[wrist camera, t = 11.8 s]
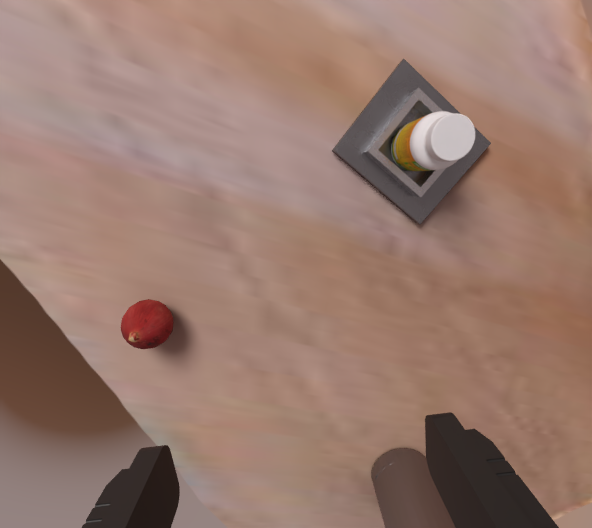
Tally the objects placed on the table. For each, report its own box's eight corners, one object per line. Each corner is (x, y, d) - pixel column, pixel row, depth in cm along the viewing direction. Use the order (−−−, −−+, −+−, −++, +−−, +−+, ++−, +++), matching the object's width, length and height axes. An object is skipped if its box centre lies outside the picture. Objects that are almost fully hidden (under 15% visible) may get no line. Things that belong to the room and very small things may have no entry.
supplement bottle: (388, 171, 39) (420, 169, 30) (391, 122, 38) (425, 104, 28) (433, 171, 39) (479, 169, 30) (438, 122, 38) (487, 104, 29)
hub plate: (485, 144, 40) (502, 141, 37) (416, 222, 42) (427, 226, 39) (400, 62, 37) (411, 51, 34) (331, 150, 40) (335, 148, 36)
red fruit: (190, 318, 45) (169, 347, 37) (155, 339, 45) (128, 373, 37) (162, 283, 43) (135, 306, 35) (128, 305, 44) (94, 333, 36)
